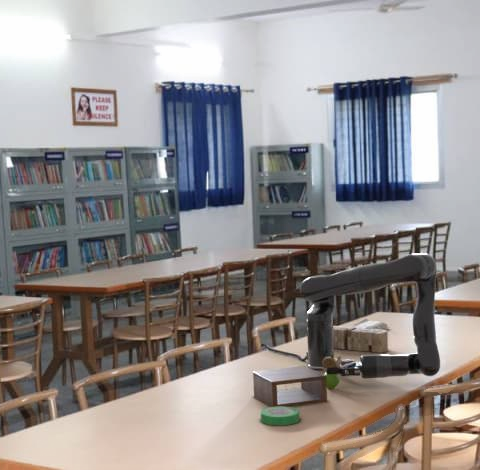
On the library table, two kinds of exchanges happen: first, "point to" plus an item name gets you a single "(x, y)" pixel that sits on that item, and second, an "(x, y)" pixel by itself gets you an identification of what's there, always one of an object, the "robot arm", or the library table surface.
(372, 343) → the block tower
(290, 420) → the tape roll
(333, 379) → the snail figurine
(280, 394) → the shelf
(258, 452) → the library table surface
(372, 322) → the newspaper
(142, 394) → the library table surface
